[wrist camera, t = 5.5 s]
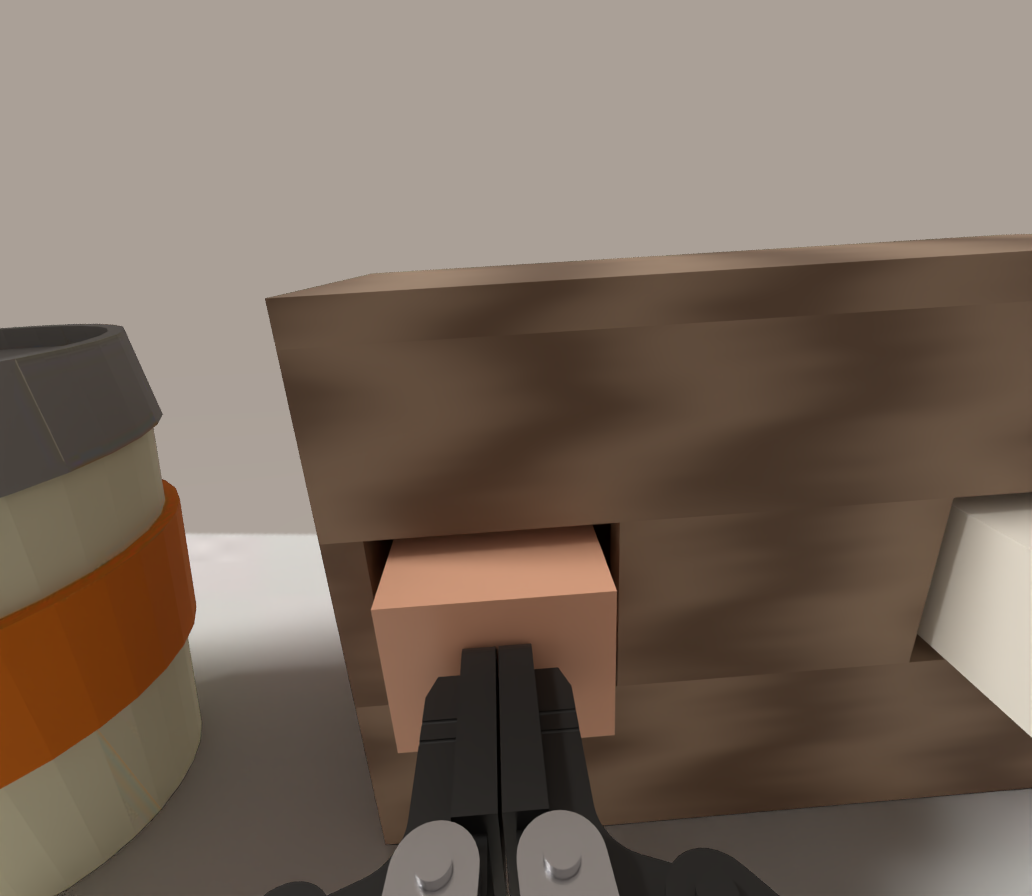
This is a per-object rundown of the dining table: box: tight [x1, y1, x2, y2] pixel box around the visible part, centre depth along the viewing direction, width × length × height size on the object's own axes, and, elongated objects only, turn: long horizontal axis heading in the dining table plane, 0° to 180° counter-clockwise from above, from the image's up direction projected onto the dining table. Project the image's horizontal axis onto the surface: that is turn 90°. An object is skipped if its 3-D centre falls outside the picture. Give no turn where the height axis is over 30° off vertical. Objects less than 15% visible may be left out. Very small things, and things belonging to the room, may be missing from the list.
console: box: [265, 234, 1032, 845], centre depth 18 cm, size 24×10×16 cm, turn 93°
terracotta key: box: [371, 525, 617, 753], centre depth 15 cm, size 5×7×4 cm
